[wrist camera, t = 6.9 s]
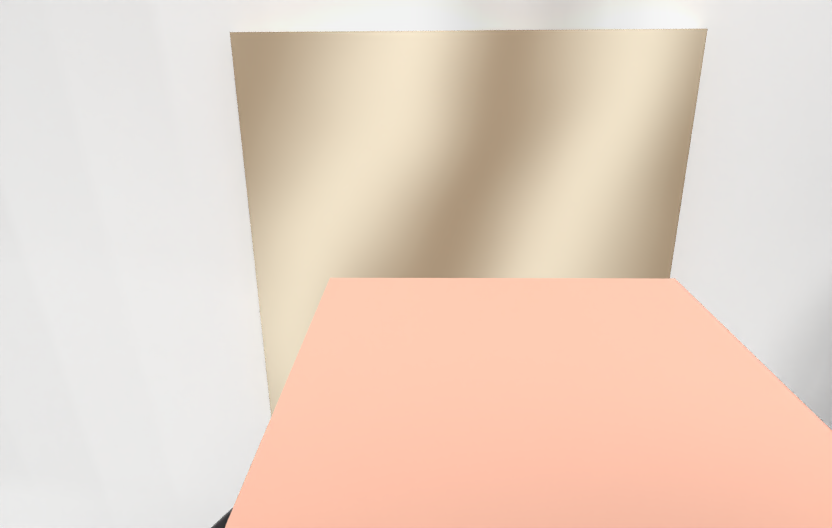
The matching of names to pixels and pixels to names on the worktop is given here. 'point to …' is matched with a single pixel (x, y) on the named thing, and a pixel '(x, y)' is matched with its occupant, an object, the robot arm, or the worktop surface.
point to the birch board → (458, 158)
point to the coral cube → (532, 414)
